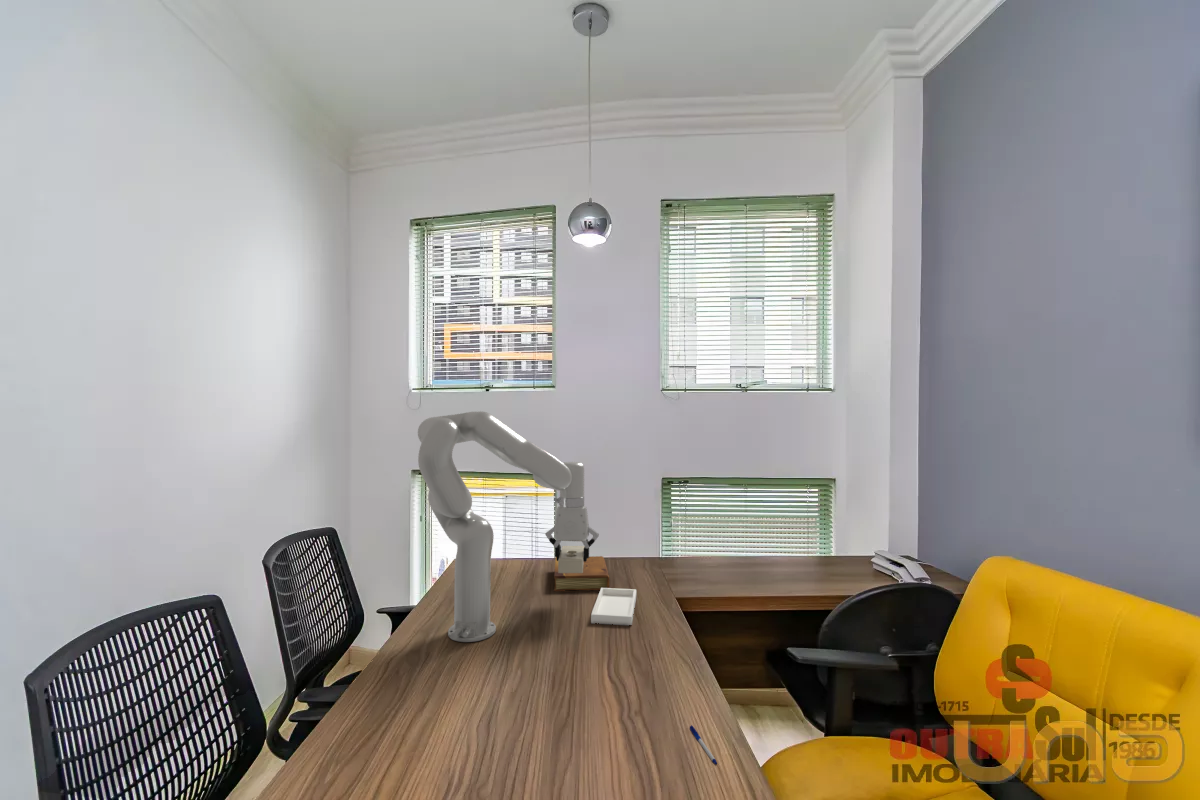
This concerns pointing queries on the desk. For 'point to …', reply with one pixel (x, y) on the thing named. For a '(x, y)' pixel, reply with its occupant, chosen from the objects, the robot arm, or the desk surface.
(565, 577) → the diary
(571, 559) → the electrical outlet
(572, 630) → the desk surface
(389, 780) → the desk surface
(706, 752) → the ballpoint pen
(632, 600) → the holder tray
